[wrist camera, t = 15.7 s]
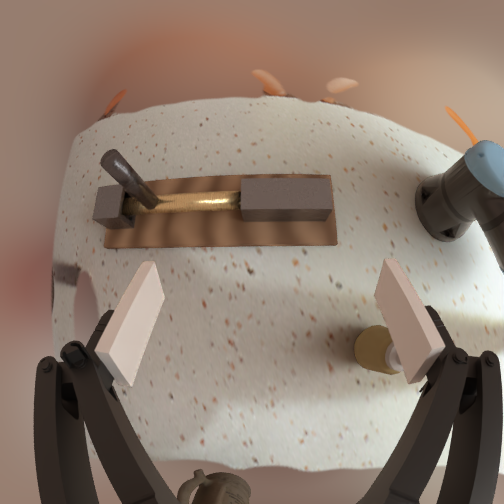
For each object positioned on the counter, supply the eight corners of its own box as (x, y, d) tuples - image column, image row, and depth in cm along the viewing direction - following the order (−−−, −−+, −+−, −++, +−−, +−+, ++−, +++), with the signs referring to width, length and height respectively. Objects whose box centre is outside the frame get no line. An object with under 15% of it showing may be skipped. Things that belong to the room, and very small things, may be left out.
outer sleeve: (322, 193, 50) (329, 178, 44) (325, 221, 49) (333, 209, 43) (244, 194, 51) (241, 178, 45) (243, 222, 50) (240, 209, 44)
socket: (138, 197, 52) (123, 183, 46) (134, 228, 51) (117, 217, 44) (114, 200, 53) (98, 187, 46) (109, 229, 51) (92, 219, 44)
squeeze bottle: (340, 342, 46) (378, 357, 28) (373, 315, 46) (423, 314, 29) (362, 374, 44) (405, 401, 26) (393, 347, 45) (447, 359, 27)
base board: (328, 178, 53) (330, 174, 51) (335, 245, 50) (337, 243, 48) (116, 188, 55) (113, 185, 53) (107, 248, 52) (103, 247, 50)
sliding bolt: (251, 195, 49) (243, 132, 31) (251, 212, 48) (243, 155, 30) (119, 203, 50) (66, 158, 32) (116, 218, 50) (60, 178, 31)
